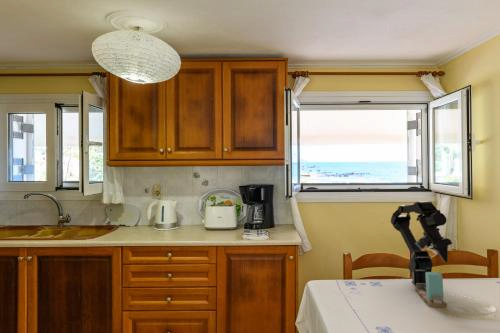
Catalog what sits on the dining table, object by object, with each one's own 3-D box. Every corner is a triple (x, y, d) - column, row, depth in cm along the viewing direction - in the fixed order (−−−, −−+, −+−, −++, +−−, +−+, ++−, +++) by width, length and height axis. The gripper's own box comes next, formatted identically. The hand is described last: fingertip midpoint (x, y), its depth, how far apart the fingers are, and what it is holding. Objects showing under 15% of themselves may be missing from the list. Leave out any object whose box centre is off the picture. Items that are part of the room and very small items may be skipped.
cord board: (415, 290, 148) (414, 281, 149) (430, 291, 147) (430, 282, 147) (429, 306, 129) (428, 296, 130) (447, 307, 128) (446, 296, 128)
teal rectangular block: (426, 297, 135) (425, 272, 135) (439, 297, 134) (438, 272, 134) (429, 300, 131) (428, 274, 131) (443, 301, 130) (442, 275, 130)
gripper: (407, 234, 161) (422, 265, 157) (417, 233, 143) (434, 269, 139) (430, 226, 160) (445, 258, 155) (443, 225, 142) (461, 260, 138)
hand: (446, 261), depth 147 cm, fingers closed
